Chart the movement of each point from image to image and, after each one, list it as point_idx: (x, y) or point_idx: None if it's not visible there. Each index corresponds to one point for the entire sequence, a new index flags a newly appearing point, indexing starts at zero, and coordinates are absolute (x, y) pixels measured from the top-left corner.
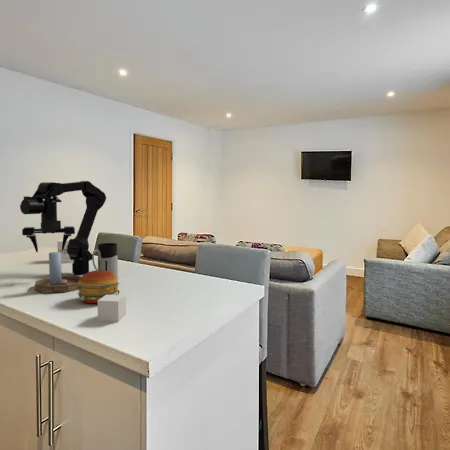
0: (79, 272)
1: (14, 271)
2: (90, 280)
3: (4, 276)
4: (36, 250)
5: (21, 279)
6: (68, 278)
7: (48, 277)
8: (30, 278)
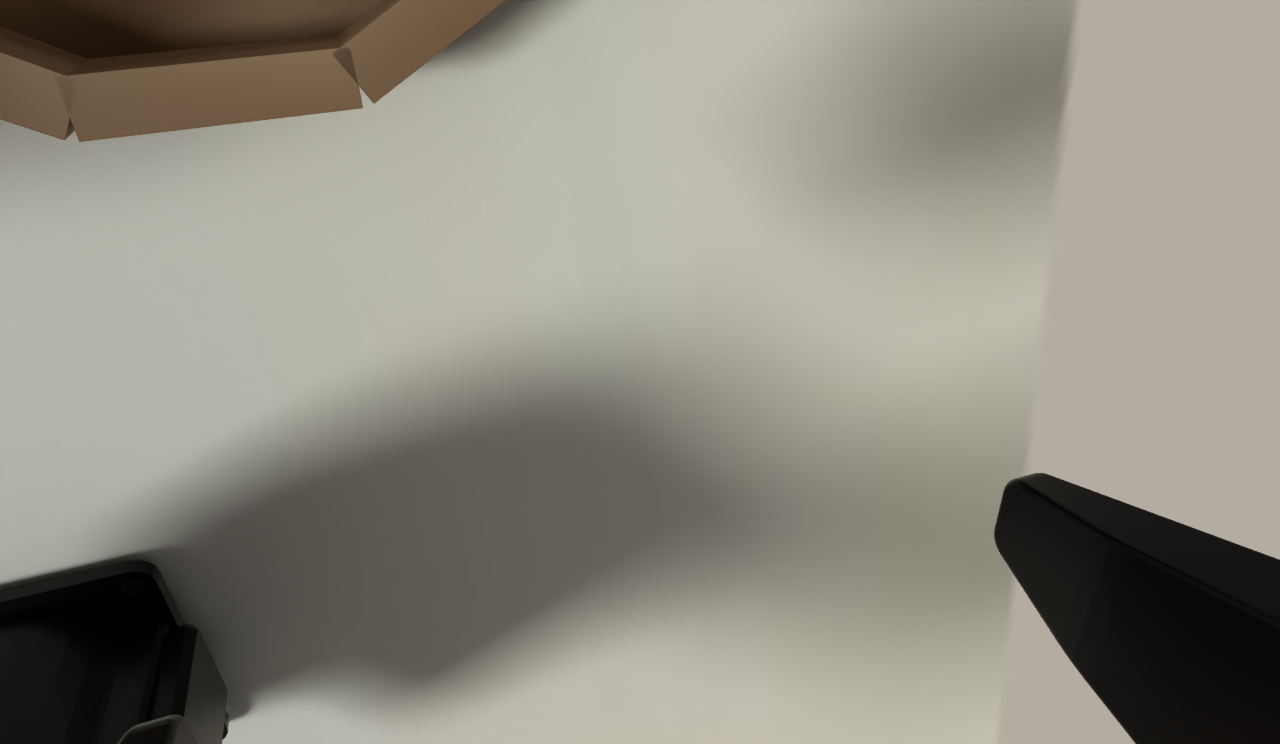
0: (40, 626)
1: (926, 718)
2: None
3: None
4: (1094, 503)
5: (875, 385)
6: (30, 45)
7: (487, 8)
8: (777, 426)
